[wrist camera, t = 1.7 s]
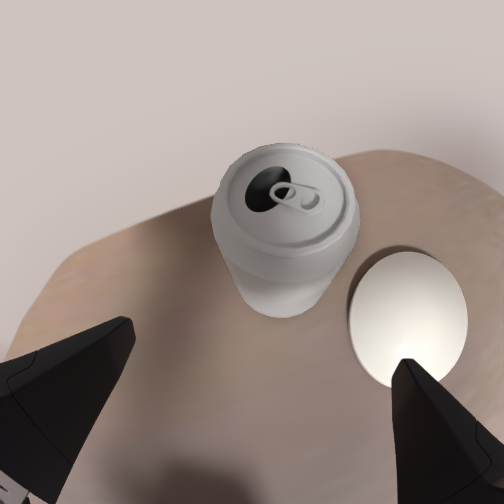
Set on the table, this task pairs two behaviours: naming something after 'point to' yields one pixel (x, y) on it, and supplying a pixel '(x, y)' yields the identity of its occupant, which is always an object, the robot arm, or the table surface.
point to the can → (284, 226)
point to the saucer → (407, 316)
